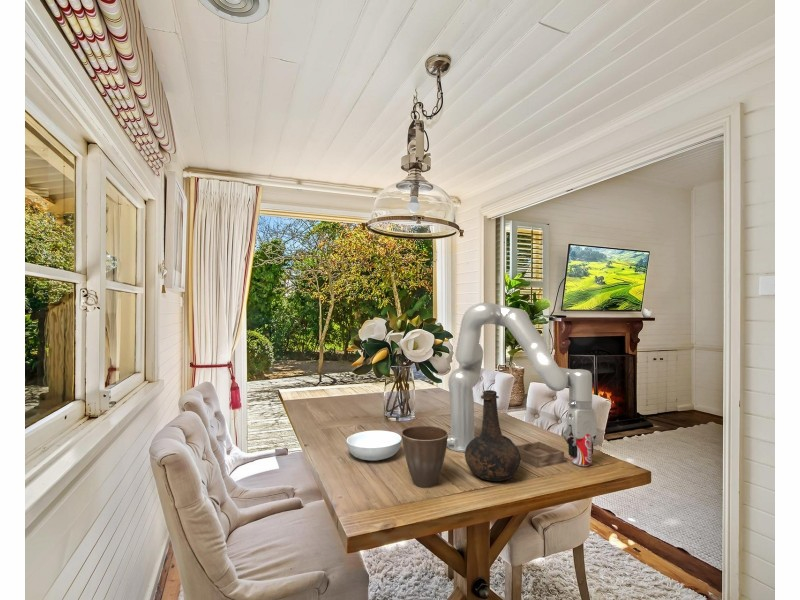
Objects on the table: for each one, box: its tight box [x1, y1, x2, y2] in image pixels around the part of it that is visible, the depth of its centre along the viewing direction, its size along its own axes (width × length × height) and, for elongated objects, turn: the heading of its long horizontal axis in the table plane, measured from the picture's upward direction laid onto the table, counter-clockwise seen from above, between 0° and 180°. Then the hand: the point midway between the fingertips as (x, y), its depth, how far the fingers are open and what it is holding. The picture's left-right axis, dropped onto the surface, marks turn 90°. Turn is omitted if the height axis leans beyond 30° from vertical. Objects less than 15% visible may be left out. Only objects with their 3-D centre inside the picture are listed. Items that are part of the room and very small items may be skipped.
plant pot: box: [401, 425, 449, 489], centre depth 126 cm, size 15×15×16 cm
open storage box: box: [515, 441, 568, 469], centre depth 146 cm, size 14×14×4 cm
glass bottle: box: [464, 389, 522, 482], centre depth 131 cm, size 18×18×28 cm
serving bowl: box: [346, 430, 403, 462], centre depth 149 cm, size 21×21×7 cm
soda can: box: [569, 432, 593, 467], centre depth 140 cm, size 7×7×12 cm
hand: (580, 454), depth 140 cm, fingers closed on soda can, 7 cm apart
